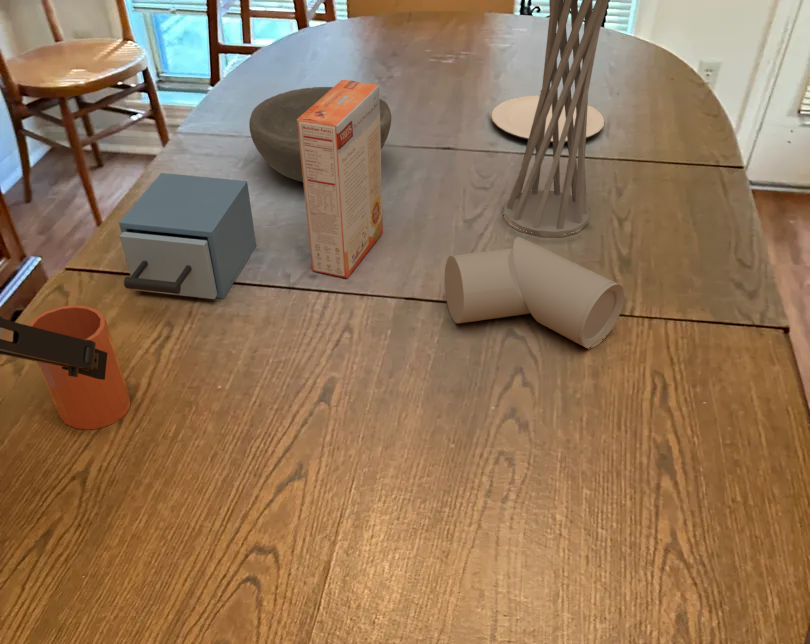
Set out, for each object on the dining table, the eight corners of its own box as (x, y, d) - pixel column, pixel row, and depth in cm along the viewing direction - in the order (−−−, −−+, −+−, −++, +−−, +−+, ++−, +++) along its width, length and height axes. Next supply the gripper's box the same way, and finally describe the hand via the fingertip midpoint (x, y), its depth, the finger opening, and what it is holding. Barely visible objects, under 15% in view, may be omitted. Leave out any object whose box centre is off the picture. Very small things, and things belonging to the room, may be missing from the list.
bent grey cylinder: (575, 266, 111) (439, 284, 107) (596, 203, 102) (448, 219, 98) (620, 361, 103) (475, 383, 99) (647, 301, 94) (488, 323, 90)
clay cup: (47, 425, 90) (12, 343, 81) (78, 382, 95) (48, 301, 86) (113, 433, 89) (84, 352, 80) (141, 390, 94) (117, 309, 86)
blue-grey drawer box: (224, 299, 107) (211, 231, 100) (136, 289, 108) (118, 222, 101) (256, 245, 116) (247, 180, 109) (175, 237, 118) (161, 172, 110)
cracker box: (347, 227, 120) (340, 76, 104) (384, 234, 119) (382, 83, 103) (308, 272, 112) (294, 115, 96) (347, 280, 110) (339, 123, 94)
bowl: (293, 135, 142) (288, 74, 135) (409, 155, 137) (410, 93, 129) (230, 188, 128) (220, 124, 120) (356, 214, 123) (354, 148, 115)
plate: (565, 97, 155) (566, 88, 154) (625, 138, 143) (627, 128, 141) (471, 113, 149) (471, 103, 148) (525, 157, 137) (526, 147, 136)
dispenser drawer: (200, 323, 101) (188, 268, 96) (116, 313, 103) (100, 258, 97) (245, 249, 114) (237, 196, 108) (171, 241, 115) (159, 188, 109)
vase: (535, 188, 129) (572, -77, 103) (605, 214, 124) (662, -59, 97) (485, 217, 123) (510, -58, 96) (556, 247, 117) (604, -37, 91)
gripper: (34, 275, 57) (160, 334, 78) (-273, 241, 59) (-71, 307, 80) (23, 379, 57) (152, 410, 78) (-279, 340, 60) (-77, 380, 81)
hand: (39, 358), depth 79 cm, fingers open, 13 cm apart
